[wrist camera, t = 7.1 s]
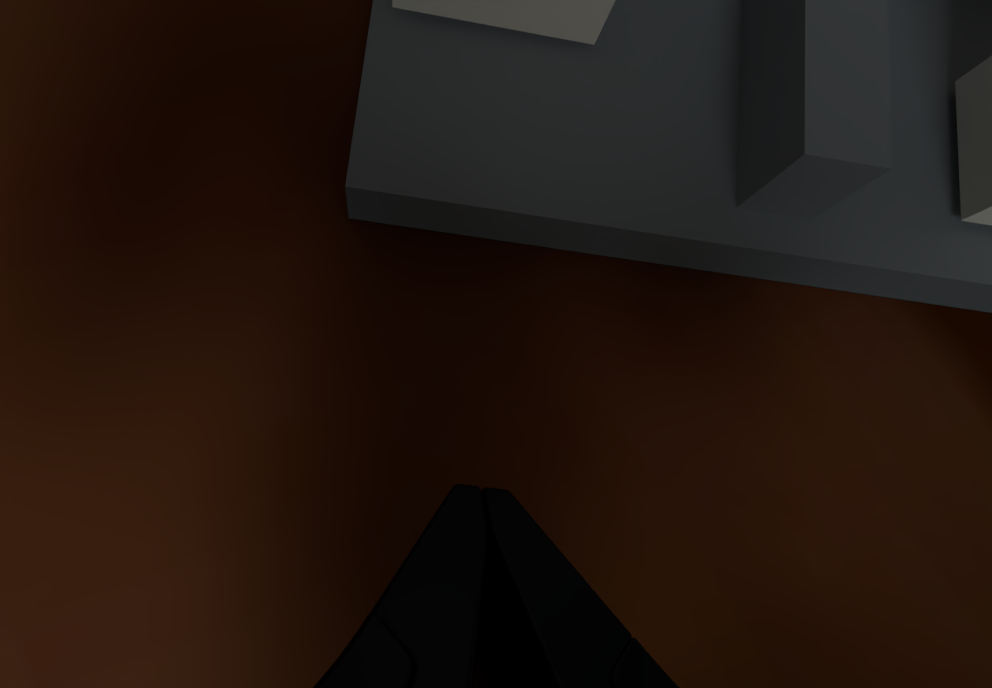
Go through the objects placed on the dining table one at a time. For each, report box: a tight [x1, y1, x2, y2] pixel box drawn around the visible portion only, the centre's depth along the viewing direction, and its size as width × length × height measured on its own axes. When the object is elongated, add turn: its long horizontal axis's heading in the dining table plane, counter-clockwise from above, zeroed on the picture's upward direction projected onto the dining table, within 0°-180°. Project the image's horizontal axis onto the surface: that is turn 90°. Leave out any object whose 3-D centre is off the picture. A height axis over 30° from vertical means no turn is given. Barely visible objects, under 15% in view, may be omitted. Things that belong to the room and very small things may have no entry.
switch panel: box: [345, 0, 992, 313], centre depth 19 cm, size 12×21×5 cm, turn 84°
